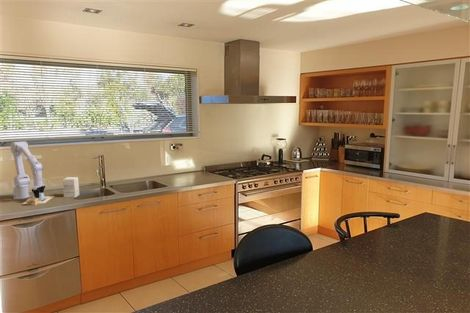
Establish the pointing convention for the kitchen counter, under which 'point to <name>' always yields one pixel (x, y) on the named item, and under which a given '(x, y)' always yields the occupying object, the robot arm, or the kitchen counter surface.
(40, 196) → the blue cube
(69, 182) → the supplement box
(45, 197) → the letter board
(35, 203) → the oak block
